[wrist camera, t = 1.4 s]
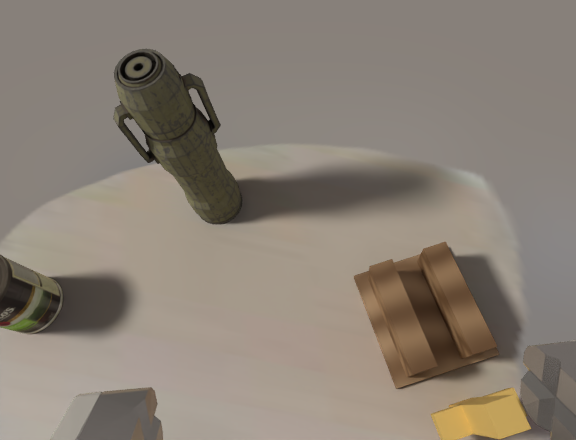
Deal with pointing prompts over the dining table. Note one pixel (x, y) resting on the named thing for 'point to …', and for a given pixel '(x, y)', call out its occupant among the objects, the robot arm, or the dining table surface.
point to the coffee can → (27, 298)
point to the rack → (424, 316)
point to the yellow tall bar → (483, 417)
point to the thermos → (176, 131)
